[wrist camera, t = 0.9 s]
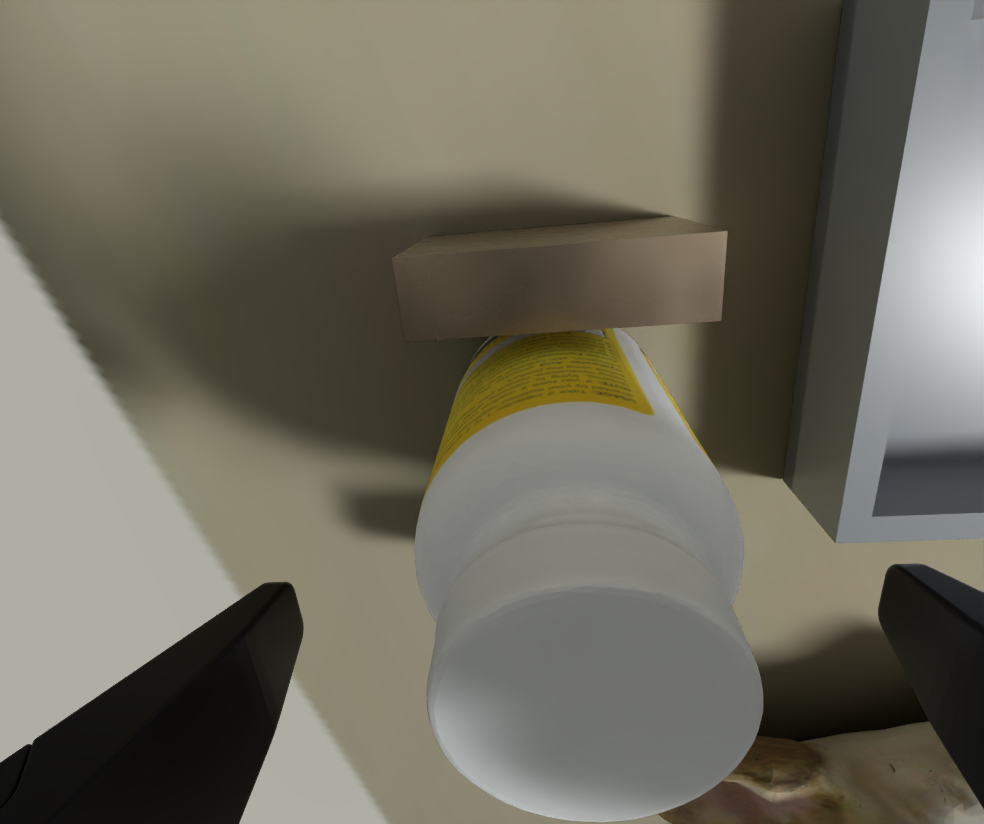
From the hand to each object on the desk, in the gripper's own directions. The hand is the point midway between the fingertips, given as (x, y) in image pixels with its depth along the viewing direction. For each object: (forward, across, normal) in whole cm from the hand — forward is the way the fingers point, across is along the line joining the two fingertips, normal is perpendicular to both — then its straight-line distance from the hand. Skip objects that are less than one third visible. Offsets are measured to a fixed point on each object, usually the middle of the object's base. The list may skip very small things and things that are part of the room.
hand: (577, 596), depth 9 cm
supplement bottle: (+8, 0, 0) cm, 8 cm away
